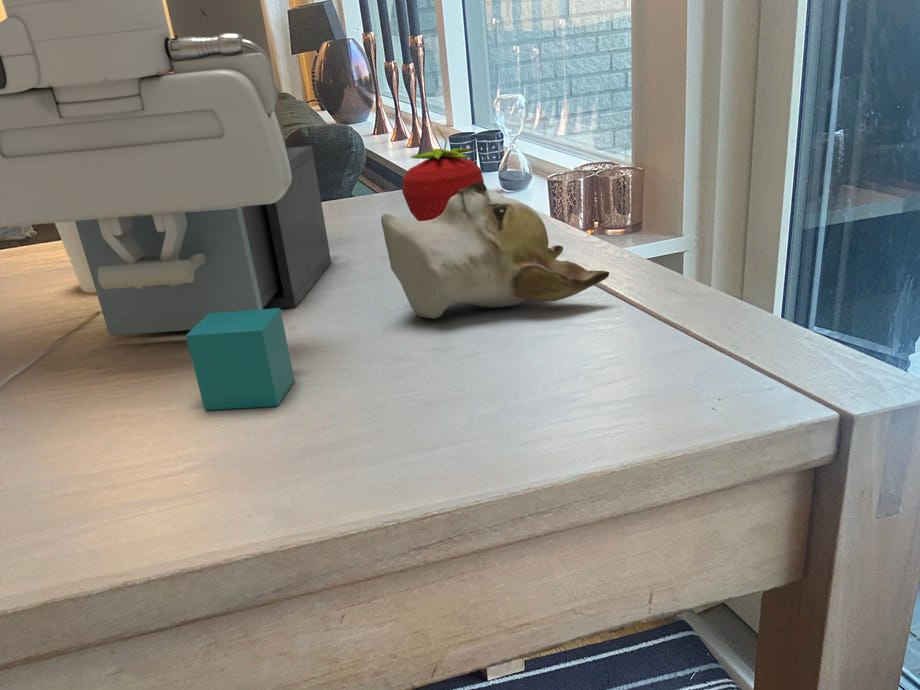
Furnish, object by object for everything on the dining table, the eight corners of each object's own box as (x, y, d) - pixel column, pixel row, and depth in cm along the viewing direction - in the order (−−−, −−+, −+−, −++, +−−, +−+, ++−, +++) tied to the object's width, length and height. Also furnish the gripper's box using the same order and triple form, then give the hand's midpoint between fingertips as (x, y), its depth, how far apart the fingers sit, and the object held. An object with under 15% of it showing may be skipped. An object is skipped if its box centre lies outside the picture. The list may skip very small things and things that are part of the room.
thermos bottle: (214, 263, 91) (127, -107, 76) (235, 244, 98) (159, -99, 82) (295, 256, 91) (225, -118, 75) (311, 238, 97) (250, -110, 81)
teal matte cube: (204, 411, 57) (185, 335, 54) (226, 384, 61) (208, 313, 58) (277, 406, 57) (261, 330, 54) (294, 380, 60) (280, 307, 58)
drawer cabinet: (295, 307, 75) (270, 173, 70) (142, 318, 76) (105, 187, 71) (331, 263, 87) (312, 145, 82) (198, 273, 88) (170, 158, 83)
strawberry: (399, 252, 88) (383, 131, 83) (471, 237, 91) (460, 118, 85) (426, 262, 84) (411, 135, 78) (501, 246, 86) (492, 122, 81)
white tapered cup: (63, 292, 86) (36, 209, 83) (131, 274, 90) (109, 194, 86) (98, 302, 82) (71, 215, 78) (168, 282, 86) (146, 198, 82)
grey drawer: (243, 345, 64) (215, 222, 60) (82, 356, 66) (44, 236, 61) (302, 277, 79) (283, 174, 75) (170, 287, 81) (144, 186, 76)
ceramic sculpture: (364, 178, 68) (560, 164, 72) (374, 303, 73) (558, 284, 76) (395, 202, 60) (617, 184, 63) (405, 341, 65) (610, 318, 68)
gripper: (277, 26, 59) (319, 262, 66) (-36, 59, 61) (40, 284, 68) (251, 30, 53) (299, 285, 61) (-91, 66, 55) (-2, 309, 63)
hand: (160, 285), depth 65 cm, fingers closed, pressing on grey drawer
